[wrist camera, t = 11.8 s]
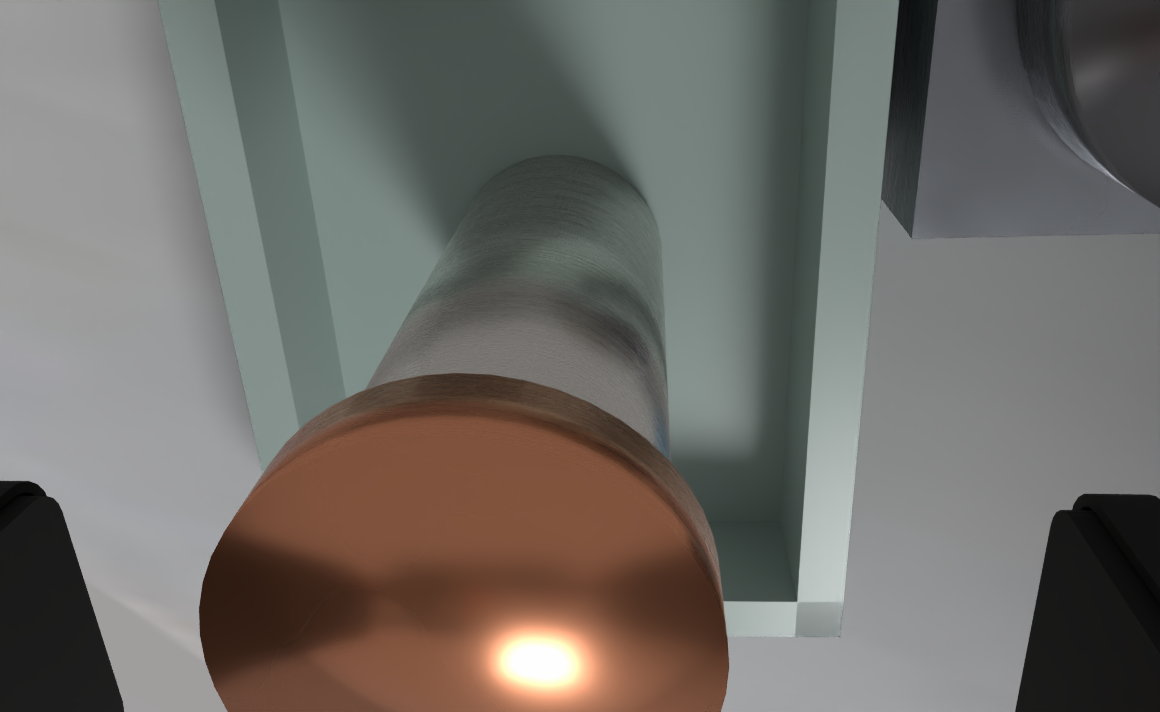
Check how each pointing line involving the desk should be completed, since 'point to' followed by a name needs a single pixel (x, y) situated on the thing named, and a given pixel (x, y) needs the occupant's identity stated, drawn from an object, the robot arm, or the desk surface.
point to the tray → (595, 132)
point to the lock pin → (488, 492)
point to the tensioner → (1024, 118)
